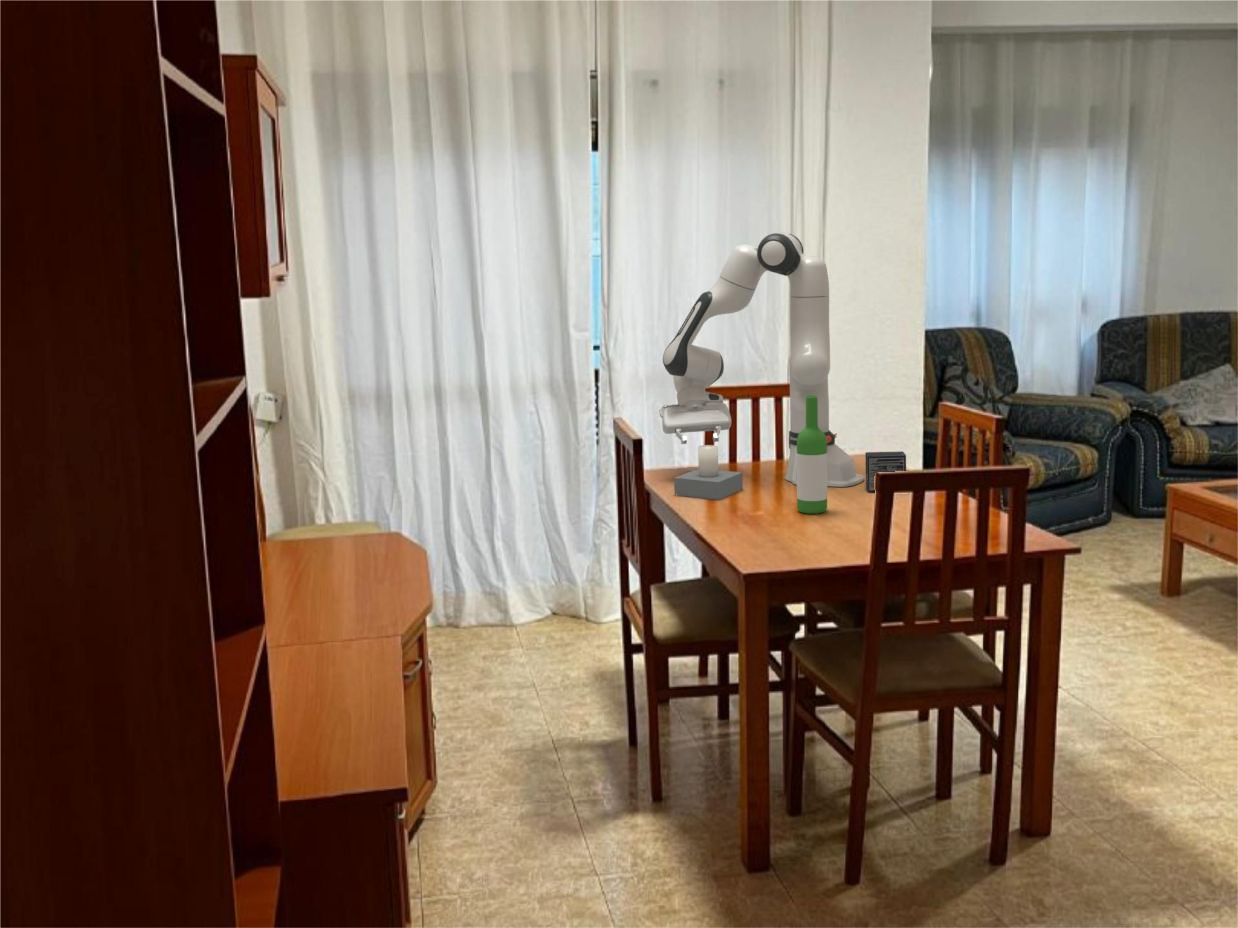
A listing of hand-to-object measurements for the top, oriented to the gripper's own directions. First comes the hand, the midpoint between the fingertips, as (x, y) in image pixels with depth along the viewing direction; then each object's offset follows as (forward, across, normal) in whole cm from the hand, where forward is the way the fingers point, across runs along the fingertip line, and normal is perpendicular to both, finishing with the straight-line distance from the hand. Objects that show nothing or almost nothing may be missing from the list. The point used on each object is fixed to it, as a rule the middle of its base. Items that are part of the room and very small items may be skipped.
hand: (700, 441), depth 341 cm
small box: (+26, +47, -7) cm, 54 cm away
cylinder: (+14, 0, -4) cm, 15 cm away
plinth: (+18, 0, -1) cm, 18 cm away
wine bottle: (+39, +21, -20) cm, 49 cm away
